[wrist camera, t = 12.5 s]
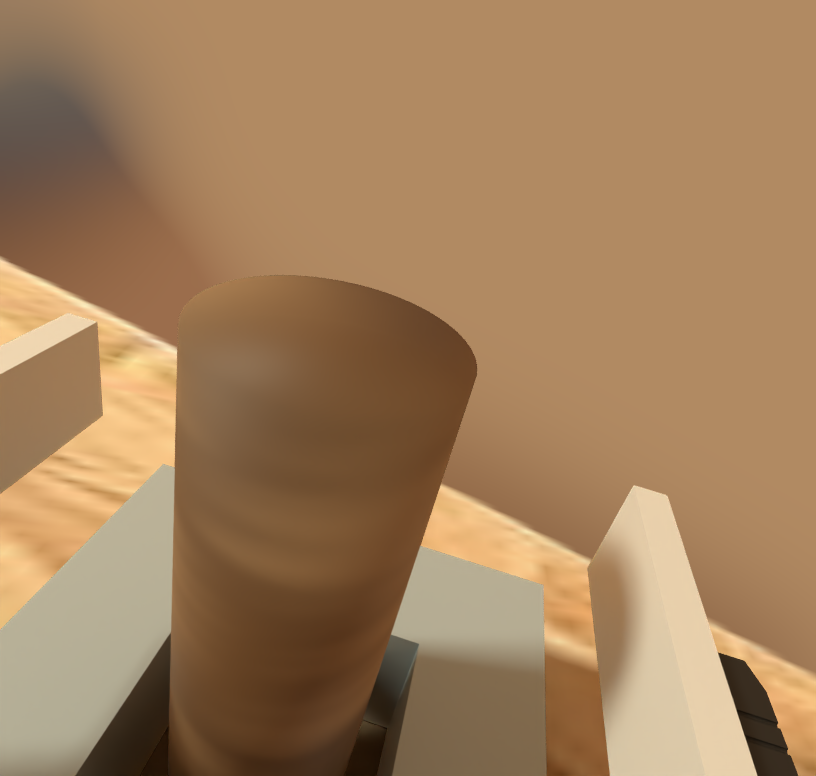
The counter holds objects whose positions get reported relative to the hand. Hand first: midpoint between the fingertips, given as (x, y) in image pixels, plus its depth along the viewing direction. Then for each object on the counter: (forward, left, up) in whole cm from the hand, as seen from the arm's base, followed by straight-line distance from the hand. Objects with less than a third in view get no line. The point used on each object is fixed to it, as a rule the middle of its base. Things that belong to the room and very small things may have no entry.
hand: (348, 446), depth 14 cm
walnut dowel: (0, +3, -11) cm, 11 cm away
